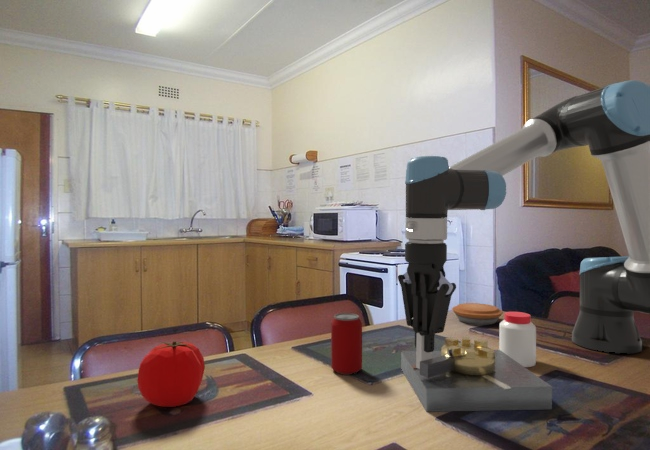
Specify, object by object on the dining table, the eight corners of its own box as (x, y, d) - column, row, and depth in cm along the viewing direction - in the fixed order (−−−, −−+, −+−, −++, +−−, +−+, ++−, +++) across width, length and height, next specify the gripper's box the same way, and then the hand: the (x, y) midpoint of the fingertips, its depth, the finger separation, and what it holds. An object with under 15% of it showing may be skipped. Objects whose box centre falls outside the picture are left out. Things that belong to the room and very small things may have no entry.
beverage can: (366, 367, 93) (366, 313, 93) (355, 378, 87) (355, 320, 86) (338, 363, 96) (338, 311, 95) (326, 373, 89) (326, 317, 89)
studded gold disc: (464, 353, 89) (464, 334, 89) (506, 368, 80) (506, 346, 80) (404, 369, 80) (404, 347, 80) (445, 387, 71) (445, 363, 71)
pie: (455, 326, 128) (455, 310, 128) (449, 314, 144) (449, 300, 144) (508, 328, 126) (508, 311, 126) (496, 316, 141) (496, 301, 141)
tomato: (165, 423, 68) (164, 355, 68) (123, 406, 74) (123, 344, 74) (219, 396, 78) (219, 337, 78) (179, 383, 84) (178, 328, 84)
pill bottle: (540, 368, 92) (540, 318, 92) (503, 366, 94) (503, 317, 93) (530, 356, 100) (530, 311, 99) (496, 354, 101) (496, 309, 101)
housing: (499, 367, 92) (499, 349, 92) (554, 411, 72) (554, 387, 71) (401, 369, 92) (401, 350, 91) (427, 413, 71) (427, 389, 71)
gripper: (387, 239, 81) (386, 360, 81) (436, 244, 69) (434, 383, 70) (416, 238, 84) (415, 353, 85) (467, 243, 73) (465, 375, 74)
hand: (424, 367), depth 78 cm, fingers closed
